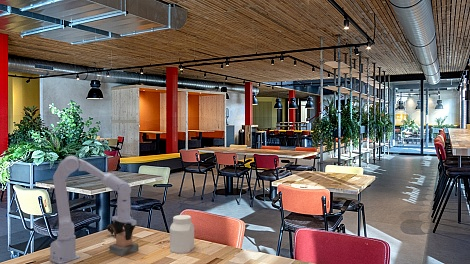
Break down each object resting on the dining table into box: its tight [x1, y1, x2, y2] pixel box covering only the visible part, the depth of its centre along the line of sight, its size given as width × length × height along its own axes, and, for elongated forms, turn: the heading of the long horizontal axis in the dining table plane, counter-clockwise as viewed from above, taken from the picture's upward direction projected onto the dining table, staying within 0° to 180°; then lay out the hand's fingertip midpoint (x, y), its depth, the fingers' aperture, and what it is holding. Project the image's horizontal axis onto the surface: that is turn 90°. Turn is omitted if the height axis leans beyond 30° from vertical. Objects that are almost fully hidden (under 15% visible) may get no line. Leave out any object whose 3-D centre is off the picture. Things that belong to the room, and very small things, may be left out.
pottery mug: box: [106, 223, 127, 238], centre depth 191 cm, size 12×10×8 cm
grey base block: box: [108, 241, 139, 257], centre depth 167 cm, size 9×9×4 cm
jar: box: [169, 214, 195, 254], centre depth 170 cm, size 12×10×15 cm
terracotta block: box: [115, 232, 133, 247], centre depth 167 cm, size 5×5×5 cm
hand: (124, 238), depth 167 cm, fingers open, 5 cm apart
